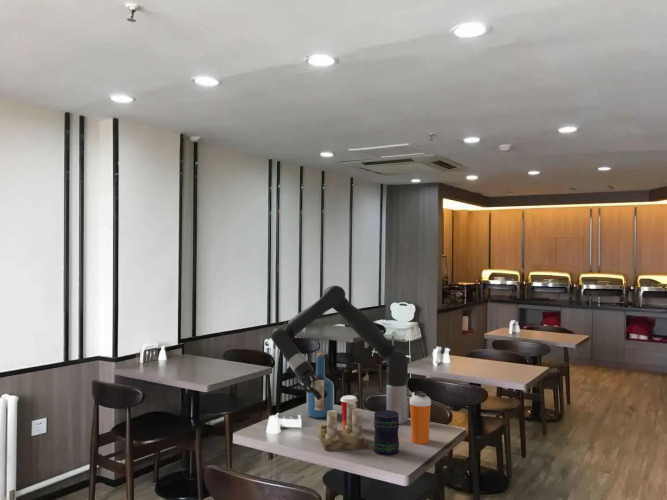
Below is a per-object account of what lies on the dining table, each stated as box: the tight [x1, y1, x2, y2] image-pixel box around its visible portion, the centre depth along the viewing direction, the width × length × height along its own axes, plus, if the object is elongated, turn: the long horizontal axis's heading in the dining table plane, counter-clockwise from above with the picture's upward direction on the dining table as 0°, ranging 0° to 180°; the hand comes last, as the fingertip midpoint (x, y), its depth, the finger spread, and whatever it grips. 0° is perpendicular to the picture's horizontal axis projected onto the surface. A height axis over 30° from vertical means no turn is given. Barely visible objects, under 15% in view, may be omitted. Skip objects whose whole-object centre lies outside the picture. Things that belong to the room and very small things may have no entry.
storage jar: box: [373, 403, 400, 457], centre depth 217 cm, size 10×10×18 cm
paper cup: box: [339, 395, 359, 430], centre depth 246 cm, size 8×8×14 cm
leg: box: [315, 380, 324, 410], centre depth 235 cm, size 4×4×12 cm
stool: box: [318, 402, 368, 452], centre depth 228 cm, size 17×17×14 cm
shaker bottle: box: [408, 391, 432, 445], centre depth 230 cm, size 9×9×20 cm
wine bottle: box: [306, 352, 335, 419], centre depth 268 cm, size 14×13×30 cm
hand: (323, 397), depth 234 cm, fingers closed on leg, 4 cm apart
